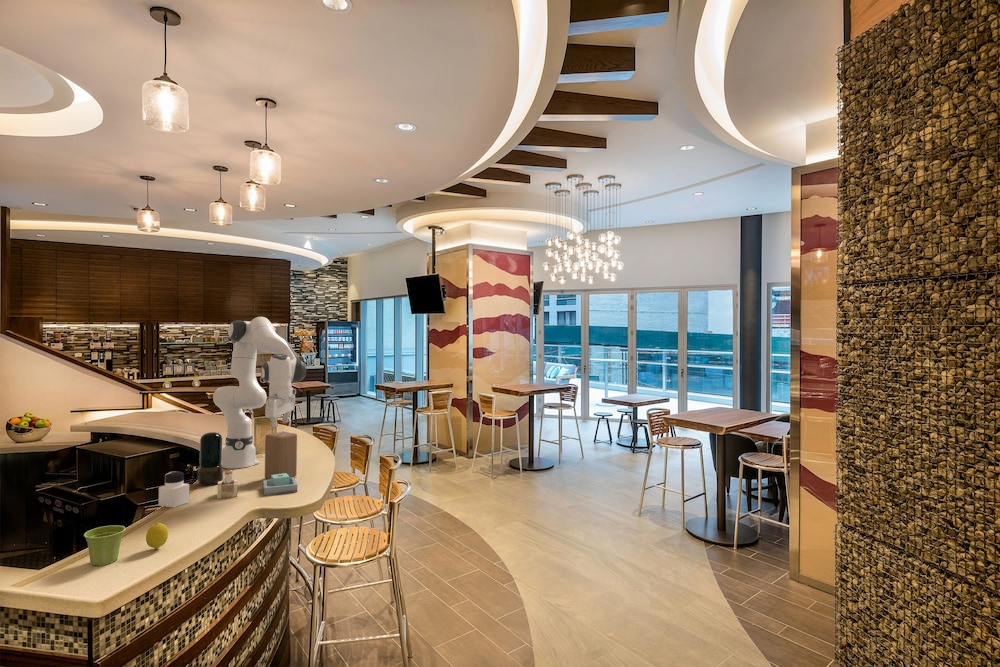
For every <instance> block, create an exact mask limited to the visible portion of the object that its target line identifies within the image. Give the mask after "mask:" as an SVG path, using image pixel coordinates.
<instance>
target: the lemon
mask: <svg viewBox="0 0 1000 667" xmlns="http://www.w3.org/2000/svg"><path fill="white" fill-rule="evenodd" d="M168 536H169V531H168V528H167V526H166V525H165V524H163V523H161V522H155V523H154V524H152V525H151V526H150V527H149V528H148V529H147V532H146V535H145V541H146V544H147V546H148V547H150V548H153V549H155V550H159V548H161V547H162V546H164V545H165V544H166V542H167V540H168Z"/></svg>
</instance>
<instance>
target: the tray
mask: <svg viewBox="0 0 1000 667" xmlns="http://www.w3.org/2000/svg"><path fill="white" fill-rule="evenodd" d="M262 482H263V483H262V488H263V493H264V494H263V495H264V496H273V495H282V494H290V493H291V494H292V493H298V482H297V480H296V476H295V477H292V478H289V485H282V486H273V487H271V480H270V479H264V480H262Z"/></svg>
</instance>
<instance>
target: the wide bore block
mask: <svg viewBox="0 0 1000 667" xmlns="http://www.w3.org/2000/svg"><path fill="white" fill-rule="evenodd" d="M232 496H237V497H238V479H232V484H226V485H224V480H222V481H219V482H218V484H217V496H216V497H217V498H221V499H225V498H224V497H230V498H233V497H232ZM217 498H216V499H217Z"/></svg>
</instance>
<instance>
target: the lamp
mask: <svg viewBox="0 0 1000 667" xmlns="http://www.w3.org/2000/svg"><path fill="white" fill-rule="evenodd" d="M199 440H200V441H199V466H198V469H197V483H198V484H199V485H201V486H214V485H218V482H219V481H224V480H223V479H224V468H223V466H222V465H221V461H222V450H223V436H222V434H220V433H219V432H216V431H209V432H205V433H204V434H202V435H201V437H200V439H199Z"/></svg>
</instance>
